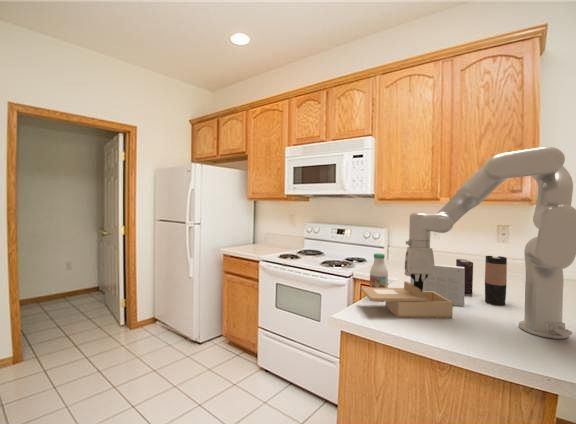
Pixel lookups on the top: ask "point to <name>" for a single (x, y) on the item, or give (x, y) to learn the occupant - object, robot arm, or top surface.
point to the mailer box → (422, 307)
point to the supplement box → (467, 275)
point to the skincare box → (446, 283)
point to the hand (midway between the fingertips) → (418, 290)
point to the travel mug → (495, 280)
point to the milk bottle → (379, 272)
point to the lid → (394, 293)
